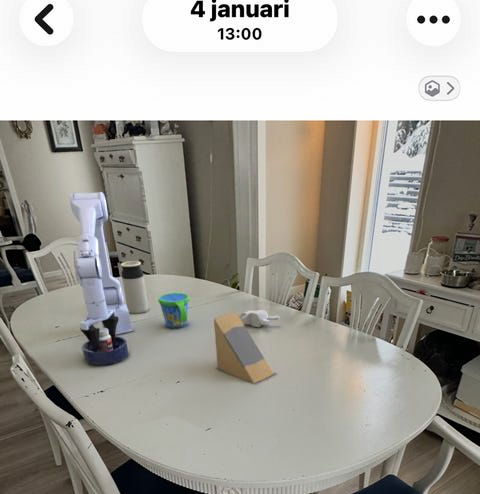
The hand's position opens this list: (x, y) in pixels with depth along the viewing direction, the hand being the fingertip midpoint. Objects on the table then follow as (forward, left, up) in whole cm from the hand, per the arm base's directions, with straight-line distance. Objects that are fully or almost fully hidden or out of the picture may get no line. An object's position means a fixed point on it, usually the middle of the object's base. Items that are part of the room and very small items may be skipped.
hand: (104, 344), depth 143 cm
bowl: (0, 0, -4) cm, 4 cm away
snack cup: (-30, -15, -4) cm, 34 cm away
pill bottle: (0, 0, -4) cm, 4 cm away
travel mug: (-24, -40, -4) cm, 47 cm away
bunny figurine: (-54, +2, -4) cm, 54 cm away
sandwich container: (-31, +33, -4) cm, 46 cm away
